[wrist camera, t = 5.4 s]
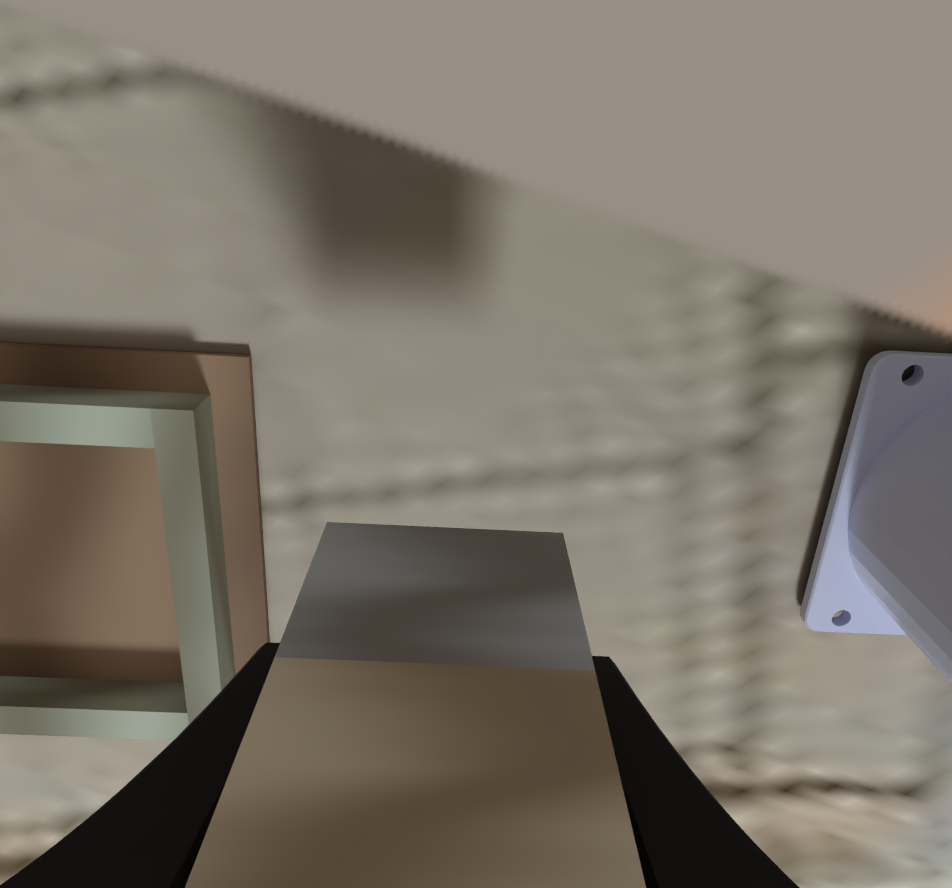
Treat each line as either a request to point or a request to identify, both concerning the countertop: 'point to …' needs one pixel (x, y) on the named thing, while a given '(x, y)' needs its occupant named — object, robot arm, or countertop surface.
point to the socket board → (125, 538)
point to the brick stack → (427, 727)
